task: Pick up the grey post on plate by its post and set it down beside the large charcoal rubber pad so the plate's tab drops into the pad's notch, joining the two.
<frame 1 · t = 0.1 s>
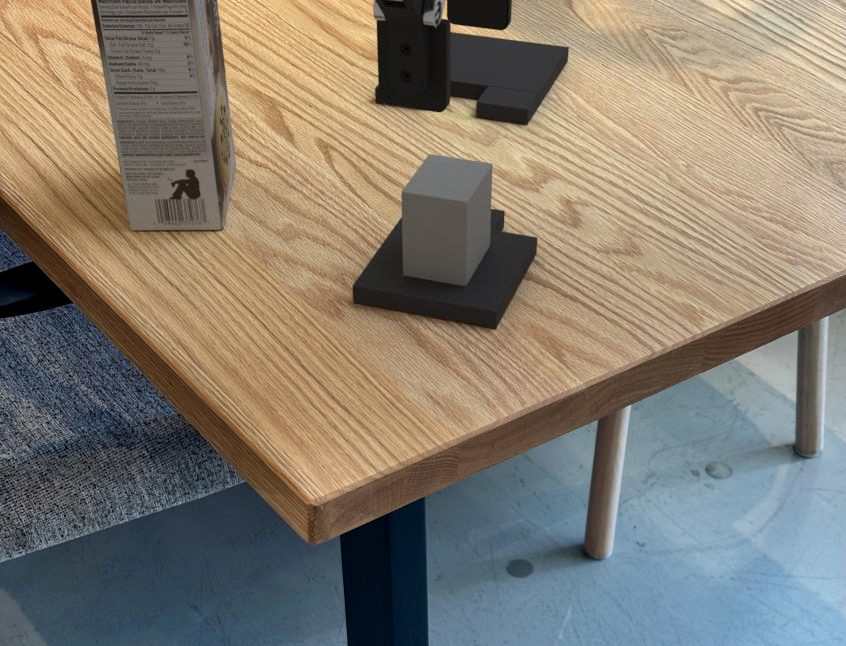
hand: (448, 63, 63), 18 cm above the table, tool pointing down, fingers open, 9 cm apart
grey post on plate: (447, 277, 82), on the table
coffee box: (185, 201, 90), on the table
base pad: (474, 81, 103), on the table
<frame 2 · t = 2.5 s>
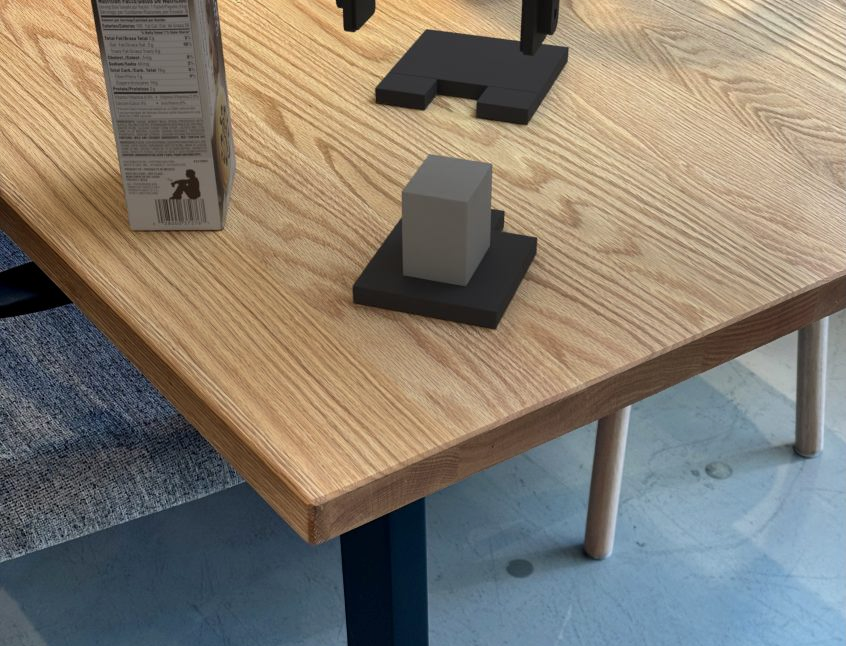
hand: (445, 34, 70), 16 cm above the table, tool pointing down, fingers open, 9 cm apart
nothing on the table moved.
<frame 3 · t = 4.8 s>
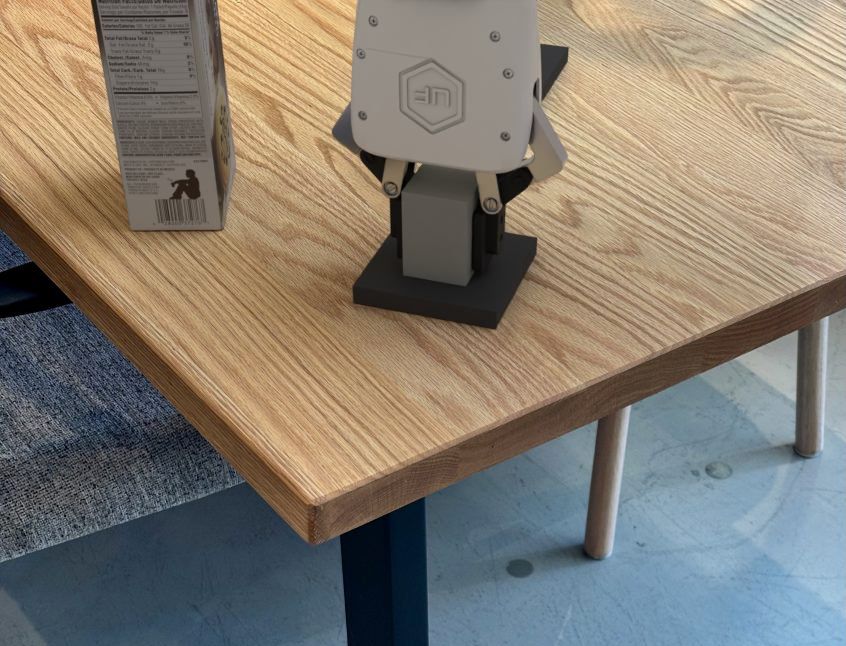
hand: (447, 252, 81), 2 cm above the table, tool pointing down, fingers closed on grey post on plate, 4 cm apart
grey post on plate: (447, 277, 82), on the table, touching gripper
everything else where it was.
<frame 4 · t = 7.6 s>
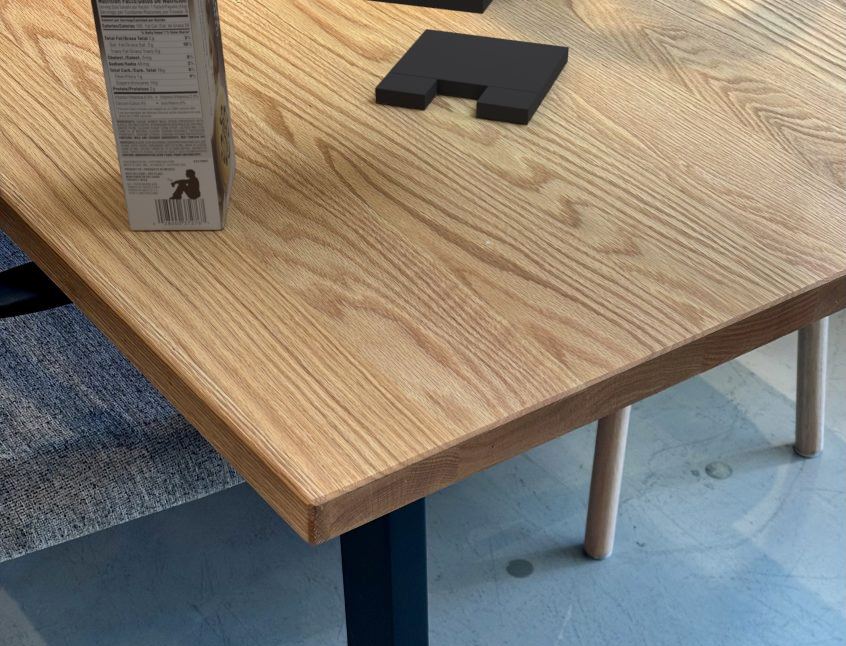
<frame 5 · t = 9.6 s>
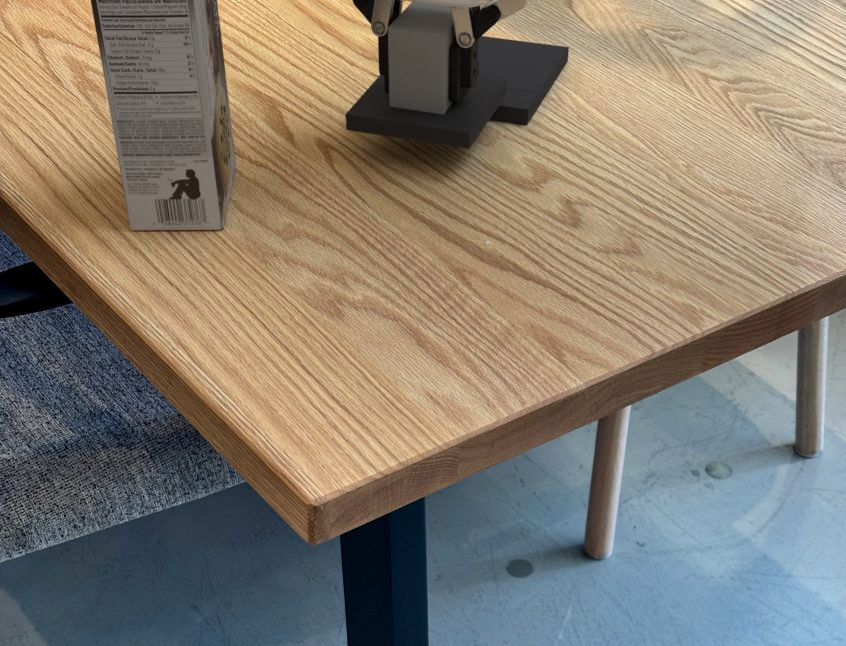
hand: (428, 88, 93), 4 cm above the table, tool pointing down, fingers closed on grey post on plate, 4 cm apart
grey post on plate: (427, 112, 94), point 2 cm above the table, touching gripper
everything else where it was.
when the fingers open (2 cm above the table, at t = 10.7 s): grey post on plate stays where it is, on the table.
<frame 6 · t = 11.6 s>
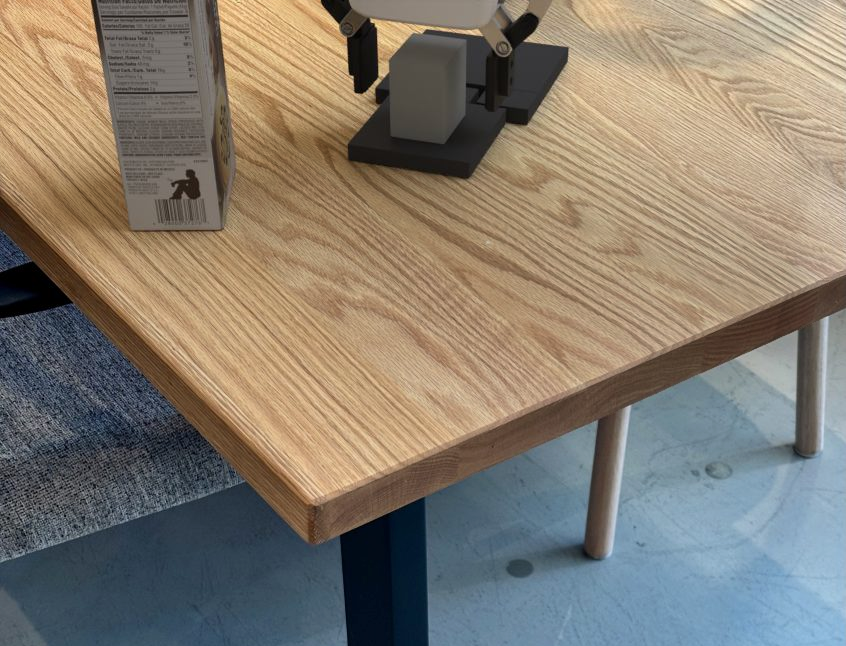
hand: (430, 95, 93), 4 cm above the table, tool pointing down, fingers open, 9 cm apart
grey post on plate: (428, 141, 96), on the table
everything else where it was.
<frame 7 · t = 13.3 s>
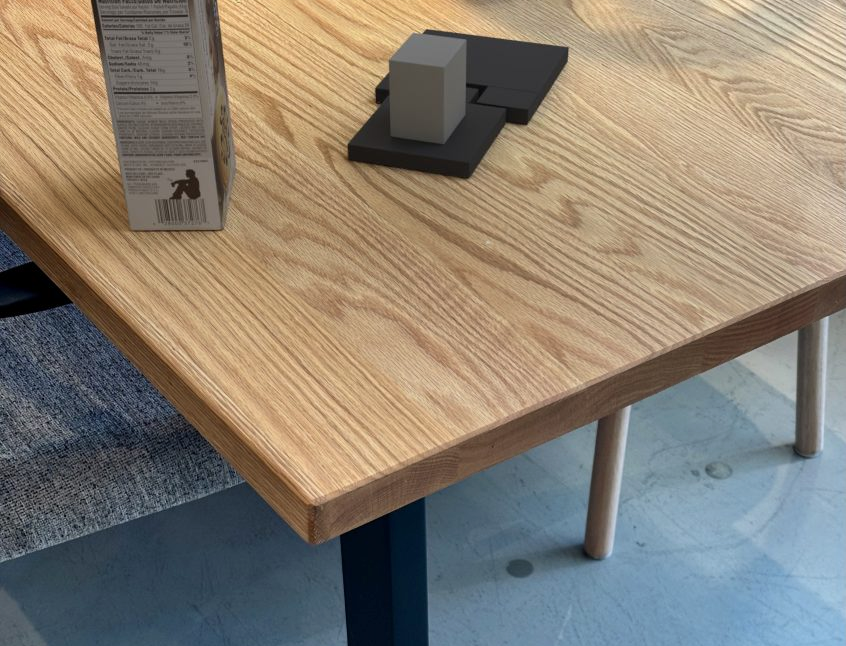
nothing on the table moved.
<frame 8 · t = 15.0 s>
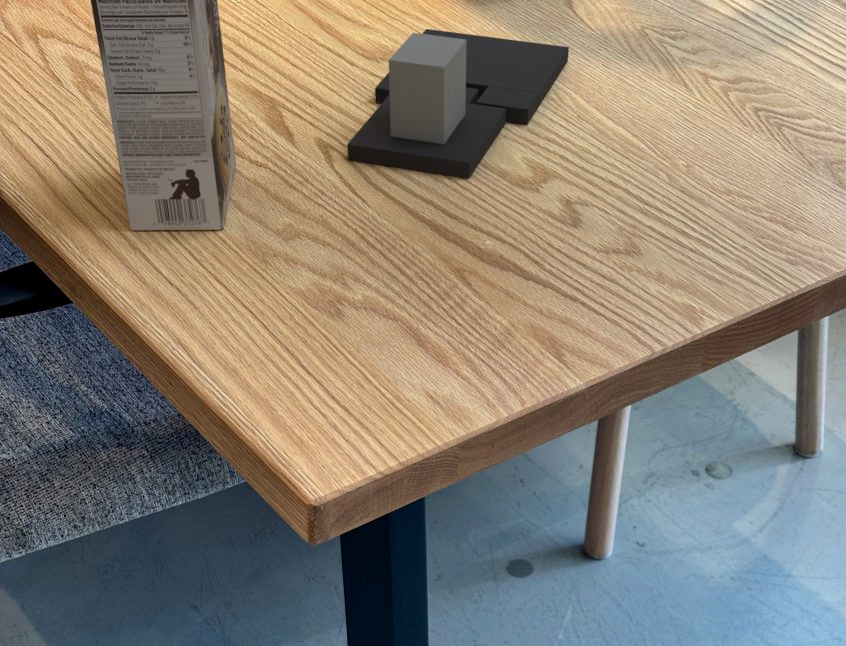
nothing on the table moved.
at the end: grey post on plate 0.1 cm from the target spot on the table beside the base pad, on the table; grey post on plate tilted 0°; the gripper is holding nothing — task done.
